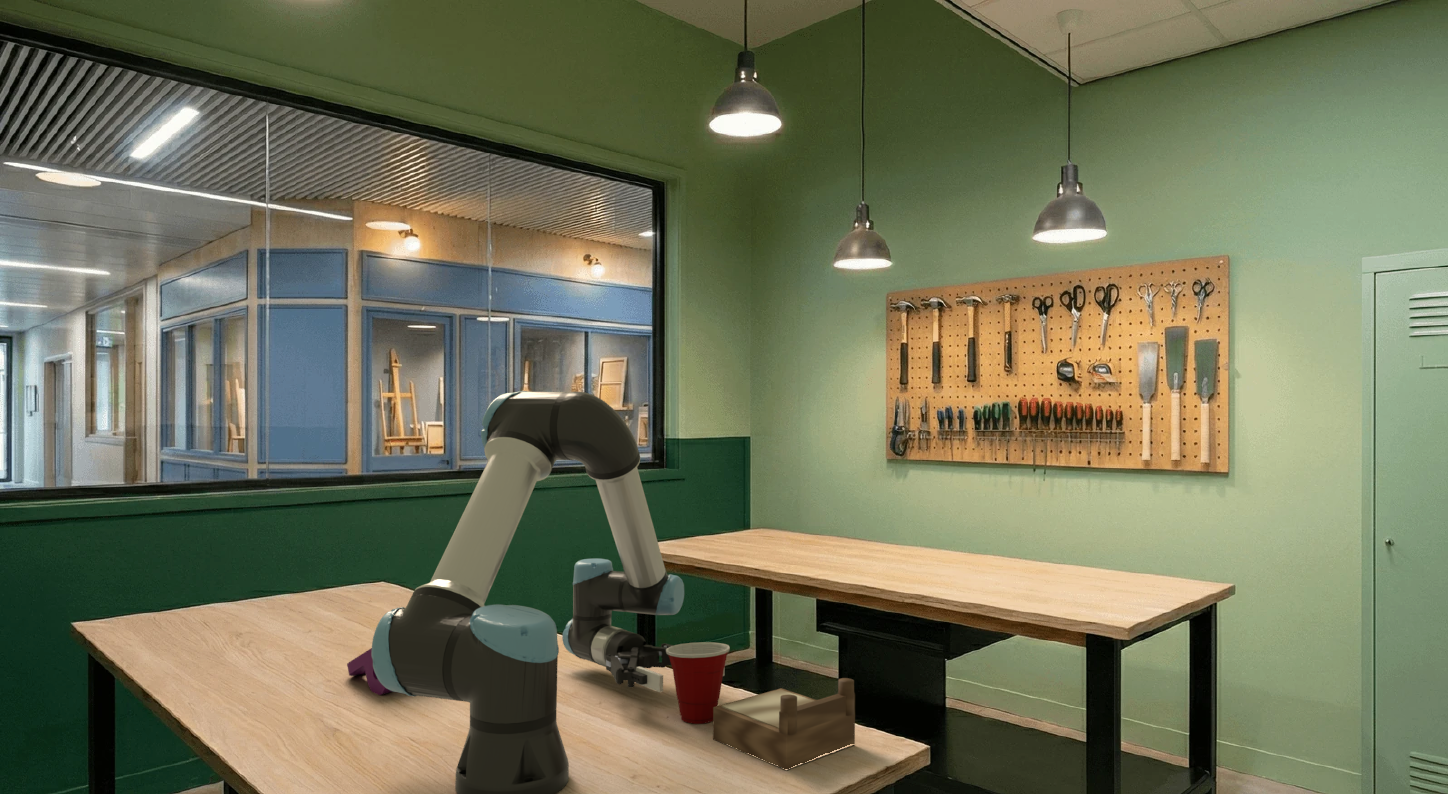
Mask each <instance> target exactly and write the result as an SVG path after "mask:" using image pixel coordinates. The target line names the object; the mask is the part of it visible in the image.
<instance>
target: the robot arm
mask: <svg viewBox="0 0 1448 794" xmlns="http://www.w3.org/2000/svg"><path fill="white" fill-rule="evenodd" d="M481 425H482V426H483V429H482V430H481V431H480V437H481V442H482V445H483V448H484V455H485V458H486V459H487V463H486V465H485V466H484V469H483V472H482V473H481V475H480V477H479V479H478V482H477V484H476V485H475V488H474V490H473V492H472V494H471V496H470V498H469V500H468V502H467V505H466V506H465V509H464V511H463V512H462V515H461V517H460V518H459V521H458V523H457V525H456V528H455V530H454V532H453V534H452V536H451V537H450V540H449V541H448V544H447V546H446V548H445V550H444V552H443V554H442V556H441V559H440V560H439V562H438V564H437V567H436V569H435V571H434V573H433V575H432V577H431V579H430V582H428V583H425V584H422V585H420V586H418V587H416V588H415V589H414V590H413V592H412V595H411V597H410V599H409V600H408V603H407V605H406V607H404V606H401V607H396V608H392V609H391V610H390V611H389V610H388V611H387V612H386V613H385V614H384V615H383V616H382V617H381V618H380V620H379V622H378V623H377V626H376V628H375V631H374V633H373V636H372V637H373V638H372V641H371V648H372V659H373V668H374V671H375V674H376V676H377V678H378V680H379V681H380V683H381V684H382V685H383V686H384V687H385V688H387V689H389V690H391V691H393V692H394V693H400V694H405V696H408V697H424V698H425V697H427V698H434V699H441V700H448V701H449V700H450V701H457V702H467V703H469V730H468V733H467V736H466V738H465V743H464V745H463V747H462V748H463V749H462V752H461V754H460V757H459V759H458V763H457V766H456V769H455V786H454V787H455V788H454V789H455V791H456V793H457V794H556V793H558V792H560V791H561V790H562V789H564V787H566V785H567V784H568V782H569V777H570V776H569V774H570V773H569V772H570V771H569V770H570V769H569V767H570V766H569V758H568V755H567V752H566V749H565V746H564V743H563V740H562V737H561V733H560V731H559V726H558V723H557V708H558V707H557V706H558V705H557V702H558V698H557V697H558V658H559V657H558V655H559V652H560V648H559V641H558V632H557V631H558V630H557V629H558V628H557V625H556V622H555V621H554V620H553V618H552V617H551V616H550V615H549V614H547V613H546V612H544V611H542V610H539V609H536V608H533V607H530V606H525V605H517V604H509V605H505V604H488V605H485V603H486V600H487V599H488V596H489V594H490V590H491V588H492V586H493V585H494V582H495V579H496V577H497V575H498V572H499V570H500V568H501V565H502V563H503V560H504V558H505V556H506V553H507V552H508V550H509V546H510V544H511V543H512V540H513V538H514V535H515V533H516V531H517V528H518V526H519V524H520V521H521V519H522V516H523V514H524V512H525V509H526V507H527V505H528V503H529V500H530V498H531V495H532V493H533V490H534V489H535V486H536V484H537V482H540V481H543V480H545V479H547V478H548V476H550V474H551V472H552V470H553V468H554V465H555V463H556V461H578V462H580V463H581V464H583V466H584V467H585V472H586V474H587V476H589V478H590V479H593V480H594V481H595V483H596V486H597V490H598V492H599V496H600V499H601V502H602V505H603V508H604V511H605V514H606V518H607V521H608V524H609V527H610V530H611V533H612V537H613V540H614V542H615V547H616V550H617V553H618V556H619V558H620V561H621V562H620V563H621V565H622V568H623V571H619V570H614V568H613V562H612V560H609V559H605V558H584V559H579V560H578V561H577V562H575V564H574V568H573V569H574V570H573V579H572V580H573V582H572V587H573V588H572V589H573V593H572V601H573V603H572V606H573V607H572V617H571V619H570V620H569V621H568V622H567V623H566V625H565V628H564V630H563V631H562V637H561V639H562V645H563V646H564V649H565V650H566V651H568V652H569V653H570V654H572V655H574V656H575V657H577V658H578V659H581V660H583V661H585V660H586V661H588V662H591V663H595V664H597V665H599V666H602V667H605V670H606V671H608V672H610V673H611V675H612V677H613V679H614V682H615V683H616V685H623V684H624V683H625V682H626V681H627V685H626V686H627V687H626V688H629V689H630V688H635V686H636V685H635V684H637V685H639V686H642V687H645V688H647V689H649V690H652V691H655V692H658V693H662V692H664V675H663V674H662V673H659V672H656V671H653V670H651V669H652V668H665V667H667V666H672V665H671V662H670V658H669V656H668V654H667V653H666V649H667V648H669V647H671V646H675V645H673V644H670V643H661V644H660V645H661V646H654V645H652V644H648V643H647V641H646V639H645V638H644V637H643V636H642V635H640V634H639V633H635V632H632V631H628V630H626V629H623V628H621V627H616V626H613V625H612V613H613V611H614V612H624V613H625V612H626V613H635V614H636V613H637V614H643V615H644V614H645V615H654V616H673V615H676V614H678V613H679V612H680V610H681V608H682V606H683V603H684V599H685V583H684V582H683V581H684V580H683V579H682V578H681V577H680V576H678V575H674V574H671V573H670V574H668V572H667V569H666V567H665V564H664V560H663V556H662V553H661V550H660V545H659V543H658V539H657V535H656V531H655V530H656V529H655V528H654V523H653V520H652V516H651V513H650V510H649V506H648V502H647V498H646V495H645V492H644V488H643V484H642V481H641V477H640V472H639V469H638V467H639V465H640V463H641V455H640V451H639V447H638V444H637V441H636V439H635V437H634V435H633V433H632V431H631V429H630V428H629V426H628V425H627V423H626V422H625V420H624V419H623V418H622V417H621V416H620V414H619V413H618V412H617V411H616V410H615V409H614V408H613V407H612V406H610V404H608V403H607V402H606V401H605V400H604V399H601V398H600V397H598V396H596V395H594V394H591V393H588V392H584V391H568V392H567V391H528V390H520V391H515V392H514V391H513V392H507V393H503V394H500V395H499V396H498V397H496V398H494V399H493V400H492V401H491V403H490V404H489V405H488V407H487V409H486V410H485V412H484V415H483V417H482V422H481ZM660 657H661V662H660ZM725 667H726V666H725ZM725 667H724V671H723V677H725Z"/></svg>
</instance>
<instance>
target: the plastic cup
mask: <svg viewBox="0 0 1448 794" xmlns="http://www.w3.org/2000/svg"><path fill="white" fill-rule="evenodd" d="M730 650H731V649H730V645H729V644H726V643H723V642H722V643H720V642H713V641H712V642H709V641H708V642H707V641H706V642H705V641H703V642H702V641H701V642H689V643H680V644H675V645H674V646H671V647H669V648H667V649H666V653H667V654H668V656H669V658H670V662H671V665H670V666H671V669H672V672H673V675H672V676H673V678H674V679H673V680H674V686H675V694H676V699H677V702H678V709H679V715H680V718H681V719H680V720H682V721H683V722H685V723H687V724H692V725H694V724H695V725H701V724H702V725H703V724H709V723H711V722H713V707H716V706H719V705H718V704H719V700H720V696H721V689H722V684H723V683H722V682H723V677H724V676H723V671H724V667H726V661H727V656H728V654H729V652H730Z"/></svg>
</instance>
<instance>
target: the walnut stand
mask: <svg viewBox="0 0 1448 794" xmlns="http://www.w3.org/2000/svg"><path fill="white" fill-rule="evenodd" d="M837 681H838V684H837V685H838V686H837V687H838V688H837V690H838V692H837V693H835V694H833V695H829V696H827V697H823V698H820V699H816V698H815V699H814V698H811V697H809V696H806V695H803V694H800V693H796V692H794V691H791V690H787V689H785V688H781V687H780V688H778V689H774V690H770V691H767V692H766V691H765V692H764V693H759V694H756V695H752V696H748V697H745V698H741V699H738V700H735V701H730V702H728V703H723V704H720V705H717V706H716V707H713V721H712V722H713V723H712V725H713V729H712V730H713V731H712V734H713V736H712V738H713V740H714V739H715V740H714V741H716V742H719V743H721V744H723V743H724V744H723V745H725V744H728V745H730V746H732V747H734V748H733V749H735V748H737V749H738V750H737V749H736V750H737V751H739V750H741V751H740V752H741V753H744V752H745V753H744V754H746V753H749V754H751V755H754V756H756V757H758V758H760V759H763V760H765V761H767V762H770V763H773V764H775V765H778V766H779V767H782V768H784V769H789V768H791V767H793V766H795V765H798V764H800V763H805V762H807V761H809V760H812V759H814V758H816V757H818V756H820V755H823V754H825V753H830V752H832V751H834V750H837V749H840V748H842V747H845V746H847V745H850V744H855V743H856V742H855V741H856V735H855V734H856V732H855V731H856V692H855V680H854V679H852V678H848V677H842V678H838V680H837ZM728 745H727V746H728ZM855 745H856V744H855ZM730 746H729V747H730ZM732 747H731V748H732ZM749 754H748V755H749ZM751 755H750V756H751ZM756 757H755V758H756ZM758 758H757V759H758ZM760 759H759V760H760ZM763 760H762V761H763ZM765 761H764V762H765ZM767 762H766V763H767ZM770 763H769V764H770ZM779 767H778V768H779ZM784 769H783V770H784ZM789 770H790V769H789Z"/></svg>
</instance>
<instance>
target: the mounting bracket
mask: <svg viewBox="0 0 1448 794" xmlns="http://www.w3.org/2000/svg"><path fill="white" fill-rule="evenodd" d="M346 666H347V670H348V671H347V672H348V675H349V677H355V676H360V675H364V674H365V677H366V682H367V685H368V687H369V690H370V691H371V693H374V694H375V695H378V696H382V695H385V694H389V693H393V692H394V691H391V690H389V689H387V688H385V687H384V686H383V685H382V684H381V683H380V681H379V680H378V678H377V676H376V674H375V671H374V668H373V659H372V647H371V648H369V649H368V650H366V651H365V652H363V653H362V654H360V655H358V656H357V657H355V658H354V659H352V660H349V662H348V663H346Z"/></svg>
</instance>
